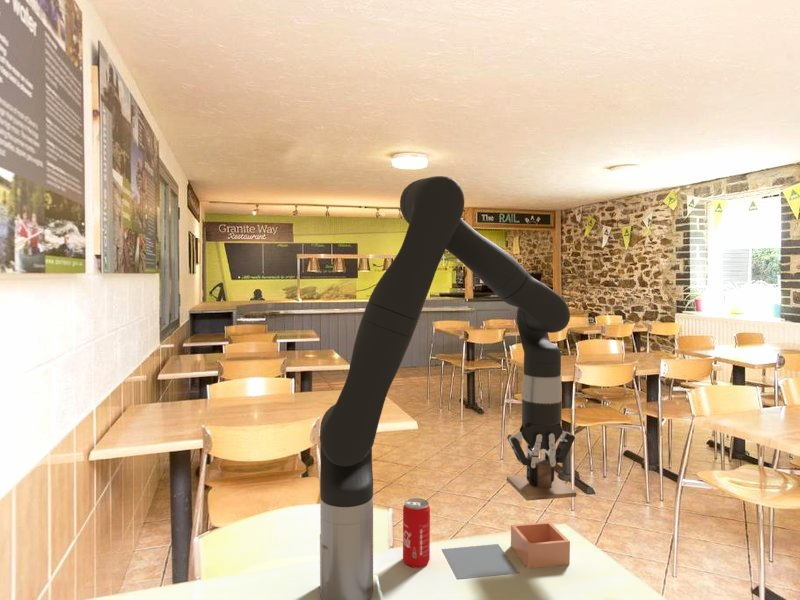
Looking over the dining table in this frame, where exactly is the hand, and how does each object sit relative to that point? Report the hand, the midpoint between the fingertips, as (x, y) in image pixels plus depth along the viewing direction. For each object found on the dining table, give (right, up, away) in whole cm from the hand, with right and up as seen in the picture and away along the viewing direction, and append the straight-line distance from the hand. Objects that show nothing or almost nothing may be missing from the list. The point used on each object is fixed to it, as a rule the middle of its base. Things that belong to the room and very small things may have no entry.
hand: (540, 483), depth 107 cm
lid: (0, -1, 0) cm, 1 cm away
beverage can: (-24, -15, -2) cm, 29 cm away
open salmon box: (0, -15, +1) cm, 15 cm away
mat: (-12, -15, -1) cm, 19 cm away
